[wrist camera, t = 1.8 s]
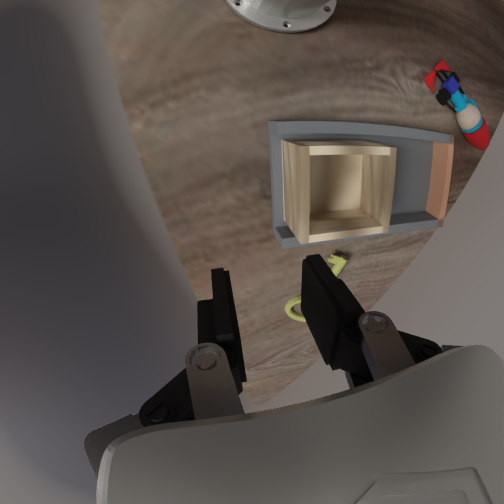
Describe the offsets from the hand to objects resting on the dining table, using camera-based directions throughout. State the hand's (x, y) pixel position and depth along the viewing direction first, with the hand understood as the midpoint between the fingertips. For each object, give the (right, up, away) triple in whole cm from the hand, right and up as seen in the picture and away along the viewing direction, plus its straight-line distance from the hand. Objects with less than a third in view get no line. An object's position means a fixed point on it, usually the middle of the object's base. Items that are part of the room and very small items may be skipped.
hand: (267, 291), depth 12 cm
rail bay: (+13, +11, +18) cm, 25 cm away
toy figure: (+30, +23, +15) cm, 41 cm away
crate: (+7, +10, +17) cm, 21 cm away
